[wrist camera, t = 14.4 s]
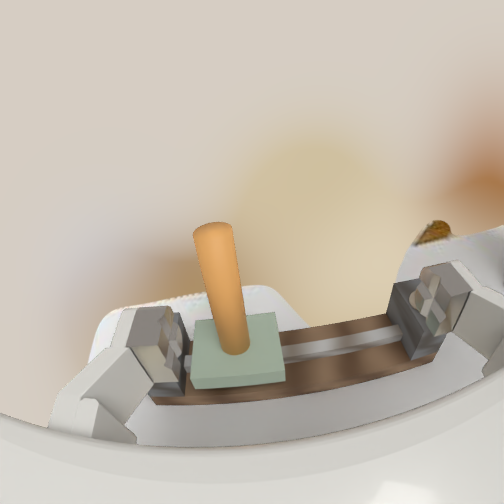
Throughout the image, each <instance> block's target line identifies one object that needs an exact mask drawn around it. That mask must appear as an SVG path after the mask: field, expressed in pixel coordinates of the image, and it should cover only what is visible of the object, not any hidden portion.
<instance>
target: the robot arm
mask: <svg viewBox="0 0 504 504" xmlns="http://www.w3.org/2000/svg"><path fill="white" fill-rule="evenodd" d="M419 278H420V280H421V283H420V284H419V285H418V286H417V287H416V291H415V304H416V307H417V309H418V311H419V313H420V314H421V315H423V316H425V317H426V324H427V326H428V328H429V329H430V331H431V333H432V334H433V336H434V337H435V336H439V335H442V334H445V333H448V332H451V331H453V333H454V334H455V335H457V336H458V337H459V338H461V339H462V340H463V341H465V342H466V343H467V344H469V345H470V346H471V347H473V348H474V349H475V350H476V351H478V352H479V353H480V354H482V355H483V356H484V357H486V358H487V359H488V362H487V363H486V364H485V366H484V367H483V369H482V373H483V375H484V378H482V379H480V380H478V381H476V382H474V383H472V384H470V385H468V386H466V387H464V388H462V389H460V390H458V391H456V392H454V393H451V394H449V395H447V396H445V397H442V398H440V399H438V400H435V401H433V402H430V403H428V404H425V405H423V406H420V407H418V408H415V409H412V410H409V411H407V412H404V413H401V414H398V415H395V416H392V417H389V418H386V419H383V420H379V421H376V422H372V423H369V424H365V425H362V426H358V427H354V428H350V429H346V430H342V431H338V432H333V433H328V434H324V435H319V436H313V437H308V438H302V439H296V440H289V441H282V442H275V443H266V444H256V445H244V446H229V447H166V446H150V445H138V444H136V441H137V437H136V436H135V434H134V433H132V432H131V431H130V430H129V429H128V428H126V427H125V426H124V424H125V423H126V422H127V420H128V419H129V418H130V416H131V415H132V413H133V412H134V411H135V409H136V408H137V407H138V405H139V404H140V402H141V401H142V400H143V398H144V397H145V396H146V394H147V393H148V391H149V390H150V389H151V387H152V386H153V385H154V384H153V383H161V382H179V374H180V365H181V364H180V362H179V360H178V357H179V356H180V355H181V353H182V348H183V342H182V334H181V330H180V328H179V325H178V324H177V323H175V322H174V321H173V318H174V313H173V311H172V309H171V307H170V306H157V307H141V308H130V309H124V310H123V311H122V313H121V316H120V319H119V321H118V324H117V327H116V330H115V333H114V336H113V339H112V342H111V345H110V348H105V349H104V350H103V351H102V352H101V353H100V354H98V355H97V356H96V357H95V358H94V359H93V360H92V361H91V362H90V363H89V364H88V365H87V366H86V367H85V368H84V369H83V370H82V371H81V372H79V373H78V374H77V375H76V376H75V377H74V378H73V379H72V380H71V381H70V382H69V383H68V384H67V385H66V386H65V387H64V388H63V389H62V390H61V391H60V392H59V393H58V395H57V398H56V401H55V404H54V407H53V410H52V414H51V417H50V420H49V424H48V427H47V428H45V427H42V426H38V425H35V424H31V423H28V422H25V421H21V420H19V419H16V418H13V417H10V416H7V415H5V414H2V413H0V504H504V295H502V294H500V293H498V292H496V291H494V290H492V289H490V288H488V287H483V286H482V285H481V284H480V283H479V281H478V280H477V279H476V278H475V277H474V276H473V275H472V273H471V272H470V271H469V270H468V269H467V268H466V267H465V266H464V265H463V263H462V262H461V261H459V260H453V261H449V262H446V263H441V264H437V265H432V266H428V267H424V268H423V269H422V271H421V273H420V277H419Z"/></svg>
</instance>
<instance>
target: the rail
mask: <svg viewBox="0 0 504 504" xmlns="http://www.w3.org/2000/svg"><path fill="white" fill-rule="evenodd" d="M420 283H421V280H420V278H419V279H414V280H409V281H404V282H398V283H394V285H393V289H392V293H391V297H390V301H389V304H388V308H387V312H386V314H381V315H377V316H372V317H367V318H363V319H357V320H352V321H346V322H341V323H335V324H329V325H324V326H317V327H311V328H305V329H298V330H291V331H284V332H278V333H279V338H280V344H281V349H282V355H283V361H284V366H285V381H282V382H275V383H267V384H258V385H248V386H238V387H225V388H209V389H195V388H194V386H193V384H192V382H191V380H190V374H191V362H192V351H193V341H190V340H189V337H188V335H187V332H186V329H185V327H184V324H183V321H182V318H181V316H180V313H179V312H178V313H174V318H173V321H174V322H175V323H177V324H178V325H179V328H180V330H181V334H182V342H183V348H182V353H181V355H180V356H179V357H178V360H179V362H180V364H181V365H180V374H179V382H161V383H153V384H154V385H153V386H152V387H151V389H150V390H149V391H148V394H149V396H150V397H151V398H152V400H153V401H154V402H155V404H156V405H206V404H225V403H238V402H250V401H259V400H268V399H276V398H284V397H291V396H297V395H303V394H309V393H315V392H320V391H326V390H331V389H335V388H340V387H345V386H349V385H354V384H358V383H362V382H366V381H370V380H374V379H378V378H381V377H385V376H388V375H392V374H395V373H399V372H402V371H405V370H409V369H412V368H415V367H418V366H421V365H424V364H427V363H430V362H432V361H433V359H434V357H435V356H436V354H437V352H438V350H439V348H440V346H441V344H442V342H443V340H444V339H445V337H446V335H447V333H445V334H442V335H439V336H435V337H434V336H433V334H432V333H431V331H430V329H429V328H428V326H427V324H426V317H425V316H423V315H421V314H420V313H419V311H418V309H417V307H416V304H415V291H416V287H417V286H418V285H419V284H420Z"/></svg>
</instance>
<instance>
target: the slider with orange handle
mask: <svg viewBox="0 0 504 504" xmlns="http://www.w3.org/2000/svg"><path fill="white" fill-rule="evenodd" d="M193 238H194V243H195V246H196V251H197V255H198V260H199V264H200V268H201V272H202V276H203V280H204V284H205V288H206V292H207V296H208V300H209V304H210V308H211V311H212V315H213V319H208V320H197V321H196V322H195V331H194V341H193V351H192V362H191V374H190V380H191V382H192V384H193V386H194V388H195V389H209V388H225V387H238V386H248V385H258V384H267V383H275V382H282V381H285V366H284V361H283V355H282V349H281V344H280V338H279V333H278V327H277V322H276V316H275V312H272V313H264V314H255V315H247V316H246V313H245V307H244V301H243V295H242V289H241V283H240V276H239V270H238V263H237V258H236V251H235V244H234V238H233V231H232V226H231V225H230V224H227V223H224V222H213V223H208V224H205V225H202V226H200V227H198V228H197V229H196V230H195V231H194V232H193Z"/></svg>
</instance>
